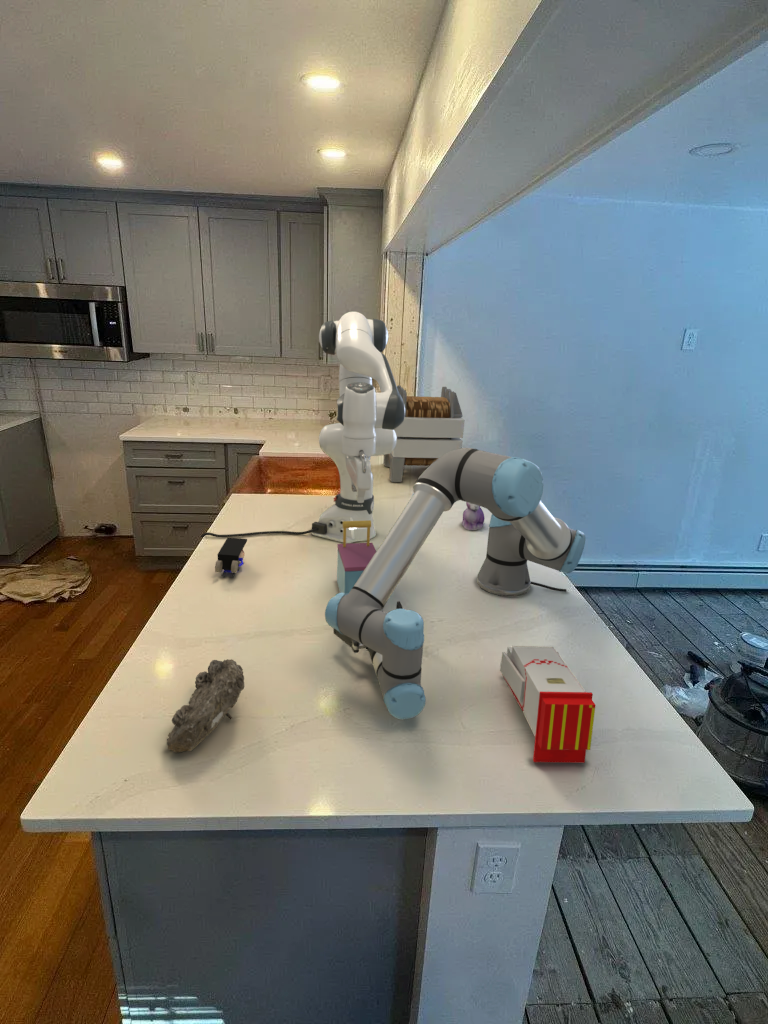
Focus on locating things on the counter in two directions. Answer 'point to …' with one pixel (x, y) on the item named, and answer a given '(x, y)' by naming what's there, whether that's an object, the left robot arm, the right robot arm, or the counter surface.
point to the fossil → (206, 705)
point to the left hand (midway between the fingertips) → (357, 496)
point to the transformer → (425, 431)
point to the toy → (550, 702)
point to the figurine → (473, 517)
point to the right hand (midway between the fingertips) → (370, 608)
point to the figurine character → (230, 556)
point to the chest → (346, 577)
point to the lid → (356, 548)
